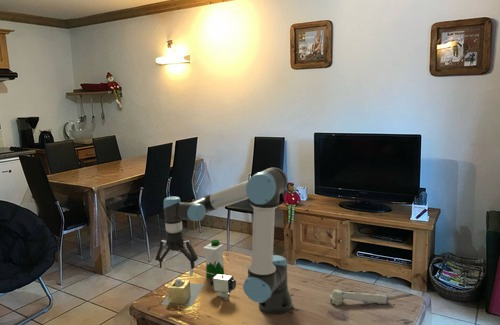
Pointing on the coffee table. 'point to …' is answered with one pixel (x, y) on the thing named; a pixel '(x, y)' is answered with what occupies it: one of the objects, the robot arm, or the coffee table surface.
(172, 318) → the coffee table surface
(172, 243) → the robot arm
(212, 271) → the milk carton
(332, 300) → the beige knobbed bar
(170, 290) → the collar
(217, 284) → the pneumatic valve
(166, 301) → the post plate
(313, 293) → the coffee table surface
